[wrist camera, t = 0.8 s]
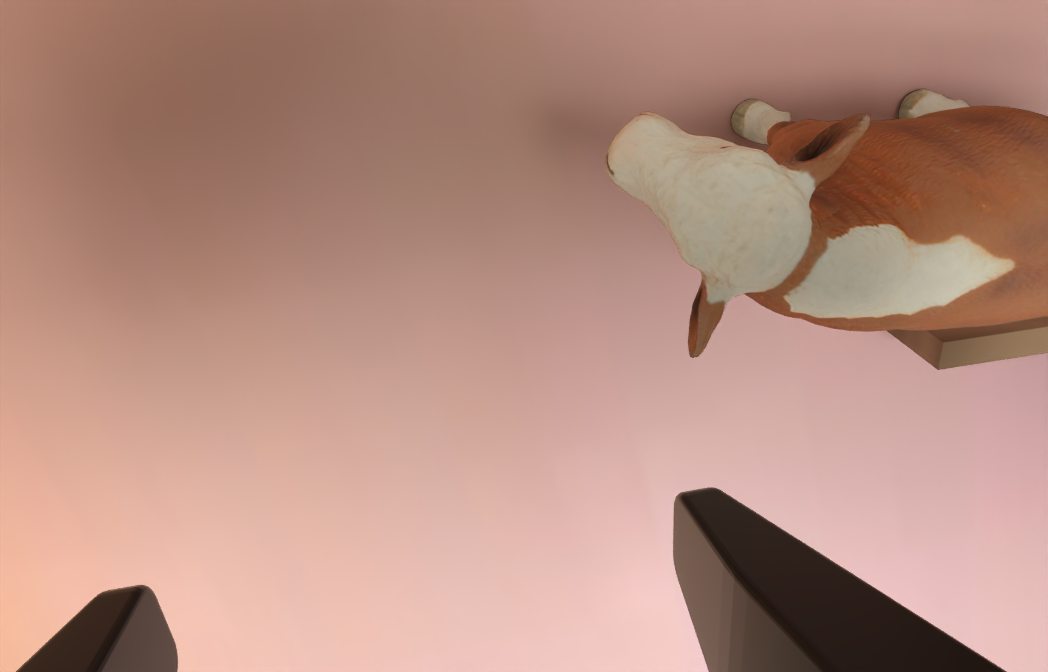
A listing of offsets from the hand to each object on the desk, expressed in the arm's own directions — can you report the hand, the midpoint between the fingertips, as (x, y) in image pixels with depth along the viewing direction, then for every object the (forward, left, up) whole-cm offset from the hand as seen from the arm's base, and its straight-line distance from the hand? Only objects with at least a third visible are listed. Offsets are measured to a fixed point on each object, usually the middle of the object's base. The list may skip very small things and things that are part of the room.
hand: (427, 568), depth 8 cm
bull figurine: (-10, 0, -12) cm, 16 cm away
